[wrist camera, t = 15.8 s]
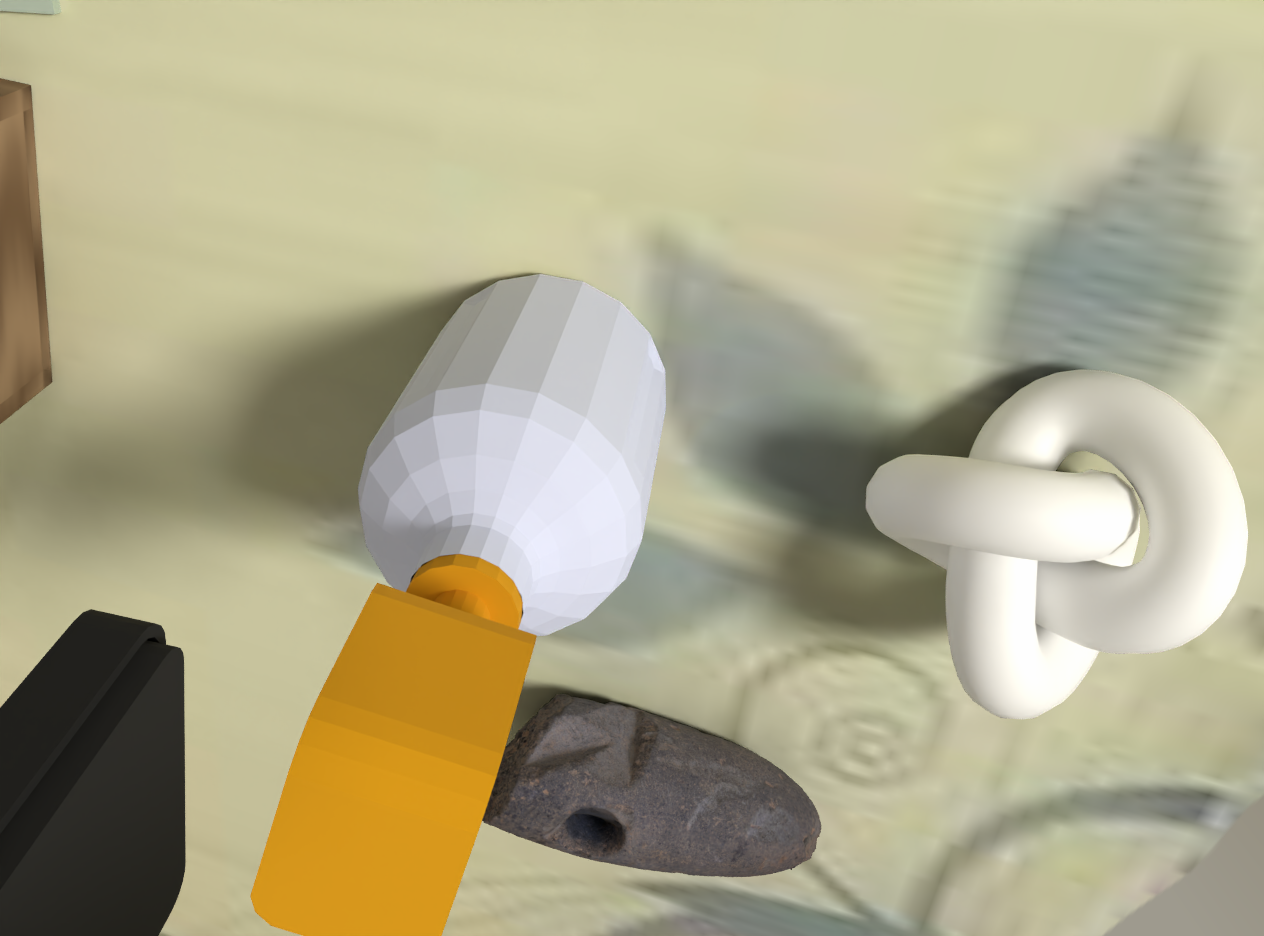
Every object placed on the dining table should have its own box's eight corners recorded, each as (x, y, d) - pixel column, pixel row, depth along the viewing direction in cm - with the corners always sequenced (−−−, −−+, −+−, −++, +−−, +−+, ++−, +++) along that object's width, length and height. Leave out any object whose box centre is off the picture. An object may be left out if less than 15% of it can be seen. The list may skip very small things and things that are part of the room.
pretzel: (1085, 260, 41) (1158, 369, 33) (1258, 491, 44) (1361, 639, 37) (824, 439, 45) (834, 573, 37) (1000, 636, 49) (1042, 794, 41)
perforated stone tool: (838, 747, 53) (846, 869, 47) (796, 823, 55) (798, 948, 50) (521, 649, 52) (488, 760, 46) (494, 731, 55) (459, 847, 49)
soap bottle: (414, 439, 47) (117, 967, 26) (468, 235, 42) (161, 672, 21) (624, 511, 48) (501, 1082, 26) (700, 317, 43) (625, 821, 22)
